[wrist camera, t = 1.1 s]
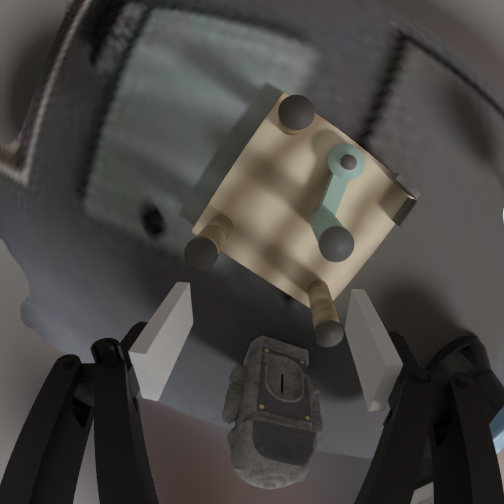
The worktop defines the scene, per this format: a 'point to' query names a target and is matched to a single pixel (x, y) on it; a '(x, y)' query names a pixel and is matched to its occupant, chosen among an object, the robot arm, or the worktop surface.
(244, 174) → the stool
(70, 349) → the worktop surface
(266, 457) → the figurine
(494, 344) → the worktop surface
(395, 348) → the robot arm
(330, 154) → the folding leg
